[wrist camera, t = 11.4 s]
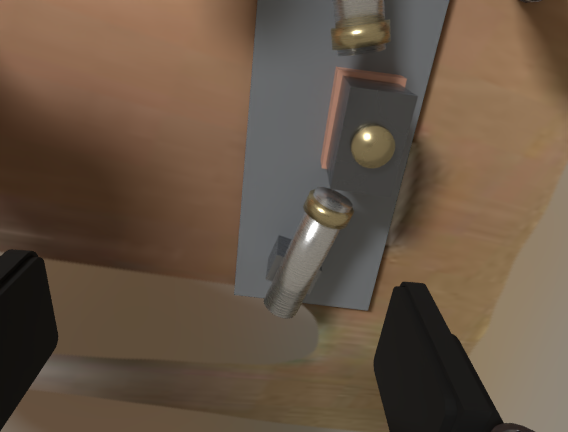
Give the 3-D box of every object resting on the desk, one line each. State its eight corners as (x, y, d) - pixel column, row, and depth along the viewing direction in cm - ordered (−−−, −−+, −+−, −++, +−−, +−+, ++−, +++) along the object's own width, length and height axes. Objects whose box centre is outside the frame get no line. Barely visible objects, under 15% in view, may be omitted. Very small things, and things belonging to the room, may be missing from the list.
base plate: (235, 288, 40) (231, 308, 37) (275, -202, 24) (272, -229, 22) (366, 303, 40) (371, 324, 38) (489, -172, 25) (512, -195, 22)
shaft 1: (308, 165, 34) (309, 197, 28) (351, 182, 35) (361, 217, 29) (263, 265, 39) (256, 311, 33) (301, 279, 39) (302, 327, 33)
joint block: (325, 164, 31) (330, 192, 26) (342, 75, 28) (351, 88, 23) (377, 171, 31) (392, 201, 26) (399, 83, 28) (420, 98, 23)
